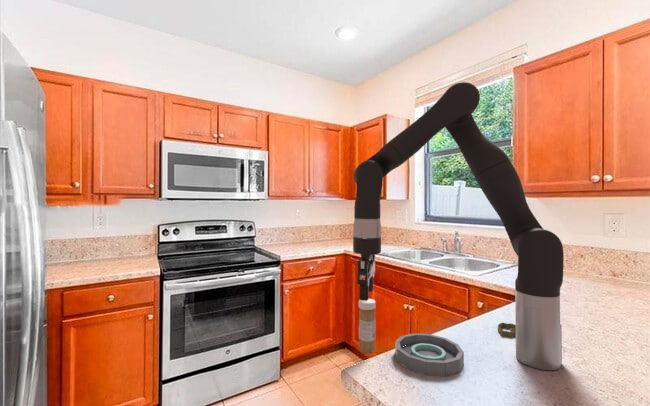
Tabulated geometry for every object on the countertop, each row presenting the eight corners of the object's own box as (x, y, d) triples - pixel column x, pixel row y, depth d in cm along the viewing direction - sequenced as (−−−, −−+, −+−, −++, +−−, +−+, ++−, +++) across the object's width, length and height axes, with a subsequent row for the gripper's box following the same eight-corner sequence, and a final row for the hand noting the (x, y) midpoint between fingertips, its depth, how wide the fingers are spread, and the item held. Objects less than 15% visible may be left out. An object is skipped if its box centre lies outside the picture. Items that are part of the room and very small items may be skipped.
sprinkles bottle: (365, 345, 86) (365, 296, 86) (379, 350, 83) (378, 300, 83) (355, 350, 83) (355, 300, 83) (369, 356, 80) (369, 304, 80)
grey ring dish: (430, 340, 89) (430, 330, 89) (477, 367, 74) (477, 354, 74) (383, 350, 83) (383, 339, 83) (425, 381, 68) (425, 368, 68)
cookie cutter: (533, 348, 85) (533, 341, 85) (490, 333, 95) (490, 327, 95) (560, 333, 95) (560, 327, 95) (518, 321, 105) (518, 315, 105)
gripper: (358, 232, 91) (357, 287, 91) (347, 237, 78) (347, 301, 77) (383, 233, 89) (383, 289, 89) (377, 238, 75) (377, 304, 75)
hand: (366, 295), depth 83 cm, fingers open, 8 cm apart
